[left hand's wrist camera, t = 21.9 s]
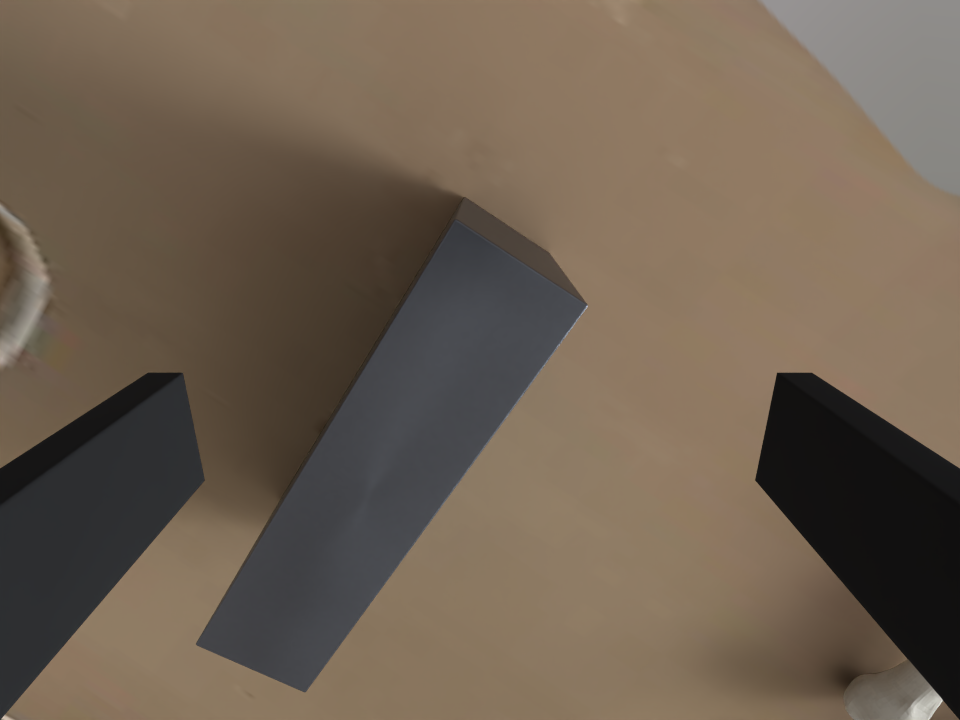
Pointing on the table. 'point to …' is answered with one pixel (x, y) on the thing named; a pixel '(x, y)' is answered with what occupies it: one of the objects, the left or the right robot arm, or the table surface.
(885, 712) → the dog toy
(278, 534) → the box
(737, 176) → the table surface
